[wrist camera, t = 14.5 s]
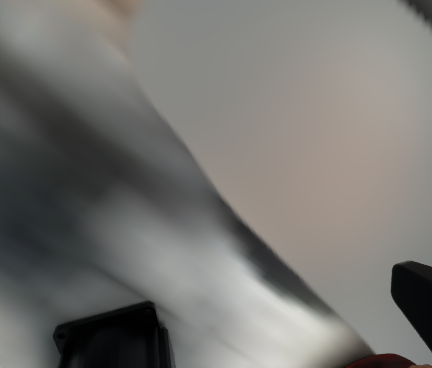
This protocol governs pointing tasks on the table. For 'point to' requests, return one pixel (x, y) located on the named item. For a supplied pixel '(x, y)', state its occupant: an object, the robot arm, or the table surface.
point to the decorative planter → (386, 362)
